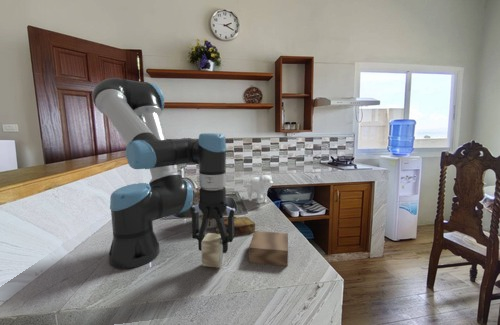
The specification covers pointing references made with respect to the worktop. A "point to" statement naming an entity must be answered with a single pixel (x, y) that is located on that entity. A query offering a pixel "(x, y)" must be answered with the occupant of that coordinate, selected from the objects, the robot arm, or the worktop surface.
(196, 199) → the decorative jar
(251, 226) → the stone
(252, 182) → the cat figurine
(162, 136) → the robot arm
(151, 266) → the worktop surface
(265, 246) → the plinth
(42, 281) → the worktop surface
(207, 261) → the oak block
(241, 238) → the worktop surface
